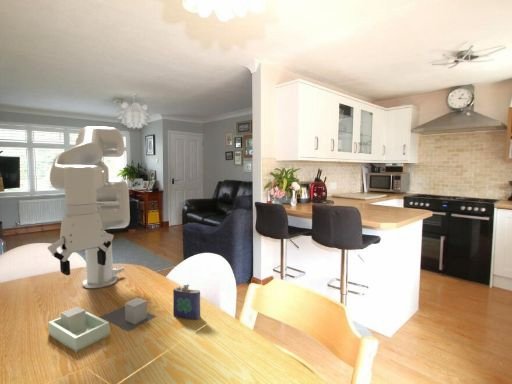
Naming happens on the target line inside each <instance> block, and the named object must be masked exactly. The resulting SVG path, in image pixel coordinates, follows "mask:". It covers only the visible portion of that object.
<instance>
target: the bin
mask: <svg viewBox="0 0 512 384" xmlns="http://www.w3.org/2000/svg"><path fill="white" fill-rule="evenodd" d="M85 312H86V329H85V330H82V331H80V332H78V333H76V334H73V333H71V332H69V331H68V330H66V329H64V328H63V327H62V325H61V316H60V317H57V318H56V319H53V320H52V319H51V320H50V321H48V322H47V323H48V335H49V337H50V336H51V338H52V339H54V340H56V341H58V342H60V343H61V344H63V345H64V346H65V347H66V348H69V349H70V350H72V351H73V352H74V353H77V352H80V351H82V350H84V349H86V348H88V347H90V346H91V345H94V344H95V343H97V342H100V341H101V340H103V339H106V338H107V337H110V335H111V334H110V333H111V331H110V322H108V321H106V320H104V319H102V318H100V316H96V315H95V314H93V313H91V312H88V311H86V310H85Z"/></svg>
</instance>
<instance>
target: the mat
mask: <svg viewBox="0 0 512 384" xmlns="http://www.w3.org/2000/svg"><path fill="white" fill-rule="evenodd" d="M157 316H158V315H155V314H153V313H150V312H148V311H147V318H146V319H144V320H142V321H140V322H138V323H136V324H133V323H131V322H128V321H126V320H125V305H123V306H121V307H118V308H116V309H114V310H111V311H109V312H107V313H105V314H103V315H100V316H99V318H101V319H103V320H105V321H107V322H109V324H112V325H114V326H116V327H119V328H120V329H123V330H125V331H127V332H130V331H132V330H133V329H136V328H137V327H138V328H139V327H140V326H141V325H143V324H145V323H147V322H149V321H151V320H153V319H155V318H156V317H157Z"/></svg>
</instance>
